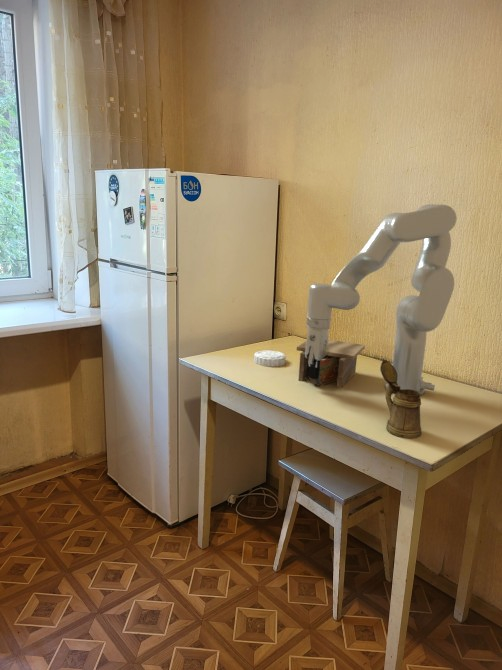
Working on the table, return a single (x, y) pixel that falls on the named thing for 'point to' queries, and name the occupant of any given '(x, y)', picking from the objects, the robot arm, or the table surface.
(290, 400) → the table surface
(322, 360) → the tin
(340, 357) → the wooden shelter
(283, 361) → the mooncake
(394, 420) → the wooden mug
